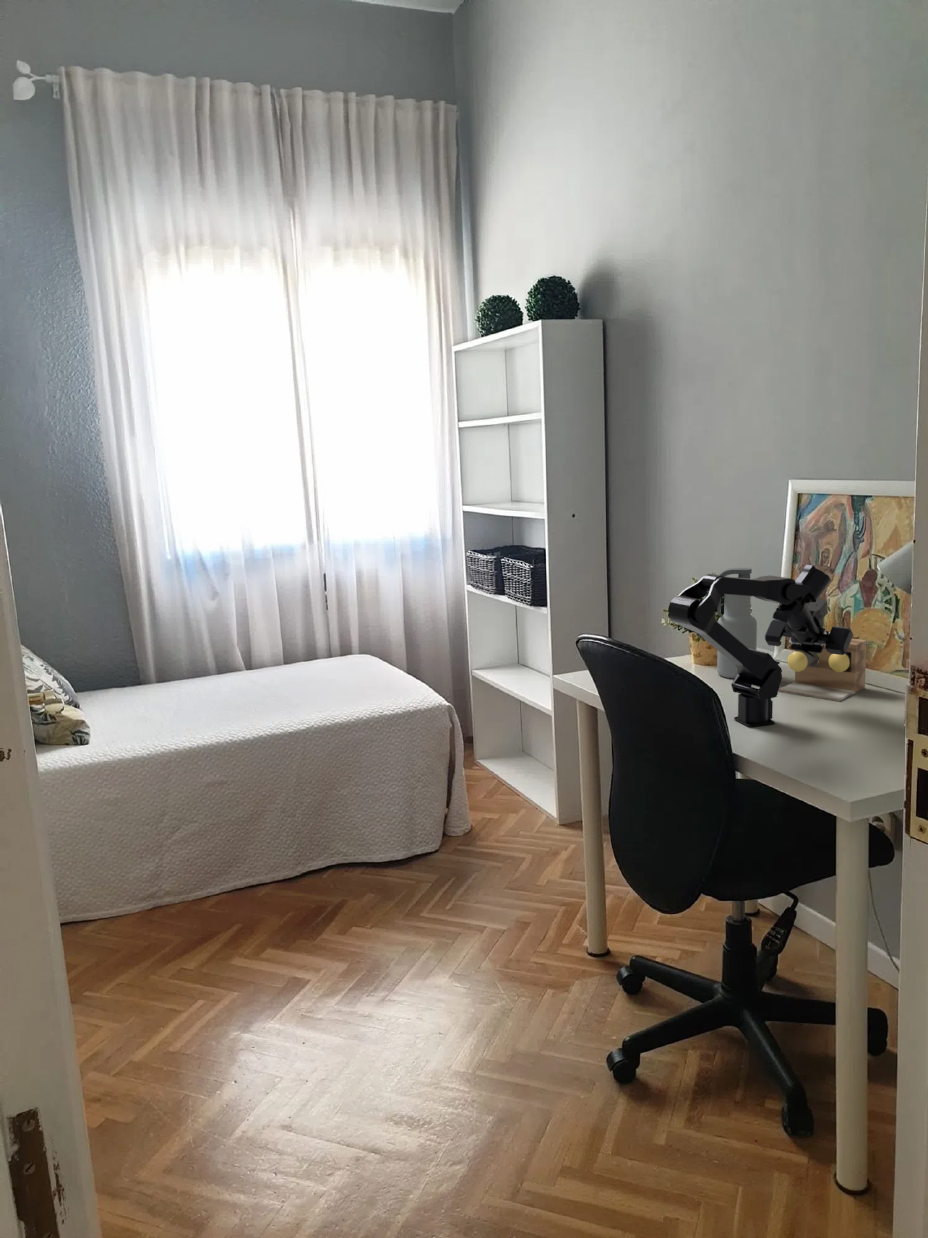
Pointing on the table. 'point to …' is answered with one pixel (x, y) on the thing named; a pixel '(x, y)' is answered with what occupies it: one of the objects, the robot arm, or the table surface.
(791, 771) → the table surface
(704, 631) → the robot arm
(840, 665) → the knob right
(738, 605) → the water bottle
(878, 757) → the table surface
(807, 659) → the knob left
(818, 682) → the console
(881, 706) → the table surface
